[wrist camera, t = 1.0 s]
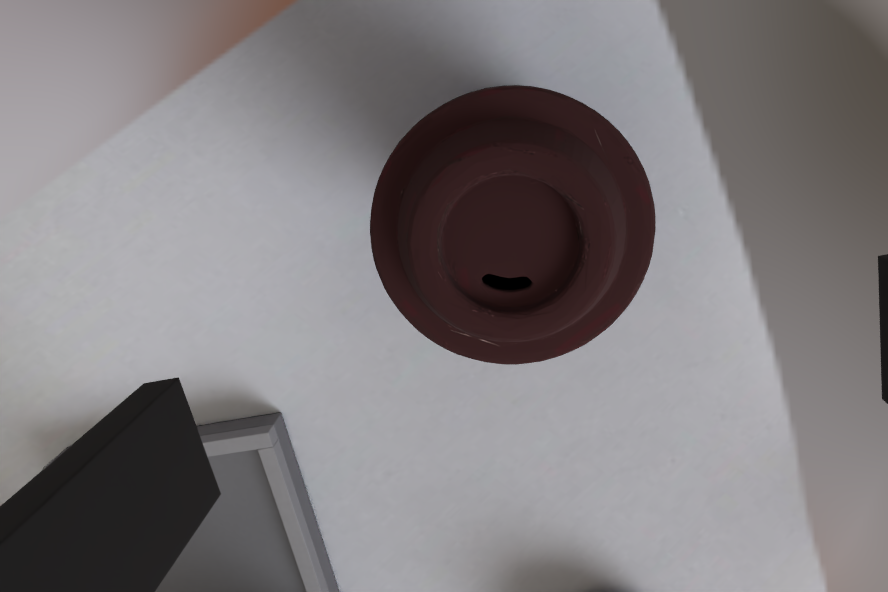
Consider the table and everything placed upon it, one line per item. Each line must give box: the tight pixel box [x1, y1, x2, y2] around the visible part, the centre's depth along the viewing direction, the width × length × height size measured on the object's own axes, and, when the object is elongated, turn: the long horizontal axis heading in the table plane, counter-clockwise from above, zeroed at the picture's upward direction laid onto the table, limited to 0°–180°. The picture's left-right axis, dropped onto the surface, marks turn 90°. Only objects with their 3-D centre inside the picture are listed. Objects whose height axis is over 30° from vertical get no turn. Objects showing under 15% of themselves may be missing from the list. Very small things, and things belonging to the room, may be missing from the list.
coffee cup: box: [370, 85, 655, 364], centre depth 29 cm, size 10×10×15 cm
